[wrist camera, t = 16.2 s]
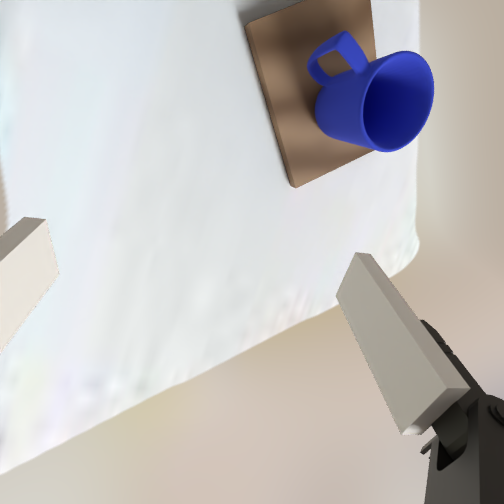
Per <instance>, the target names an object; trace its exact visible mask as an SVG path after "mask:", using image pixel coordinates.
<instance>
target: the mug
mask: <svg viewBox="0 0 504 504" xmlns="http://www.w3.org/2000/svg"><path fill="white" fill-rule="evenodd" d="M333 50H337V51H338V52H339V53H340V54H341V56H342V57H343V58H344V59H345V60H346V61H347V63H348V64H349V65H350V67H351V68H352V69H350V70H347V71H345V72H342V73H339V74H337V75H335V76H334V77H330V76H329V75H327V74H326V73H325V72H324V71H323V70H322V68H321V67H320V65H319V64H318V60H317V59H318V58H319V57H321V56H323V55H324V54H327V53H329V52H331V51H333ZM307 69H308V72H309V74H310V75H311V77H312V78H313V79H314V80H315V81H316V82H317V83H318V84H320V85H322V86H323V87H322V88H321V90H320V92H319V94H318V96H317V99H316V103H315V118H316V121H317V124H318V126H319V128H320V129H321V130H322V132H323V133H324V134H326V135H327V136H329V137H331V138H333V139H337V140H340V141H344V142H348V143H351V144H355V145H359V146H362V147H366V148H370V149H373V150H377V151H381V152H392V151H396V150H399V149H401V148H403V147H404V146H406V145H407V144H409V143H410V142H411V141H412V140H413V139H414V138H415V137H416V136H417V135H418V134H419V132H420V131H421V129H422V128H423V126H424V125H425V123H426V121H427V118H428V116H429V114H430V110H431V107H432V103H433V97H434V81H433V76H432V72H431V69H430V67H429V65H428V64H427V62H426V61H425V60H424V59H423V58H422V57H421V56H420V55H418V54H417V53H414V52H411V51H399V52H396V53H393V54H390V55H387V56H385V57H382V58H379V59H377V60H374V61H371V62H368V60H367V57H366V55H365V54H364V52H363V50H362V49H361V47H360V46H359V45H358V43H357V42H356V40H355V39H354V38H353V37H352V36H351V34H350V33H349V32H348V31H342V32H340V33H338V34H336V35H335V36H333V37H331V38H330V39H328V40H327V41H325V42H324V43H322V44H321V45H320V46H319V47H318V48H317V49H316V50H315V51H314V52H313V53H312V55H311V56H310V58H309V60H308V62H307Z"/></svg>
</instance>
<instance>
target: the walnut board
mask: <svg viewBox="0 0 504 504" xmlns="http://www.w3.org/2000/svg"><path fill="white" fill-rule="evenodd" d="M245 31H246V34H247V38H248V41H249V44H250V48H251V51H252V55H253V58H254V62H255V65H256V68H257V72H258V75H259V79H260V82H261V85H262V89H263V92H264V96H265V99H266V102H267V106H268V109H269V113H270V116H271V120H272V123H273V126H274V130H275V133H276V137H277V140H278V143H279V147H280V150H281V154H282V157H283V160H284V164H285V167H286V171H287V174H288V178H289V181H290V184H291V186H292V187H294V188H298V187H300V186H302V185H304V184H306V183H308V182H310V181H312V180H314V179H316V178H318V177H320V176H322V175H324V174H326V173H328V172H331V171H333V170H335V169H337V168H339V167H341V166H343V165H345V164H347V163H349V162H351V161H353V160H355V159H357V158H359V157H361V156H363V155H365V154H368V153H370V152H372V151H374V150H373V149H370V148H366V147H362V146H359V145H355V144H351V143H348V142H344V141H340V140H337V139H333V138H331V137H329V136H327V135H326V134H324V133H323V132H322V130H321V129H320V128H319V126H318V124H317V121H316V118H315V103H316V99H317V96H318V94H319V92H320V90H321V88H322V87H323V86H322V85H320V84H318V83H317V82H316V81H315V80H314V79H313V78H312V77H311V75H310V74H309V72H308V69H307V62H308V60H309V58H310V56H311V55H312V53H313V52H314V51H315V50H316V49H317V48H318V47H319V46H320V45H321V44H322V43H324V42H325V41H327V40H328V39H330V38H331V37H333V36H335V35H336V34H338V33H340V32H342V31H348V32H349V33H350V34H351V36H352V37H353V38H354V39H355V40H356V42H357V43H358V45H359V46H360V47H361V49H362V50H363V52H364V54H365V55H366V57H367V60H368V62H371V61H374V60H376V50H375V40H374V30H373V20H372V11H371V1H370V0H305V1H302V2H300V3H297V4H295V5H292V6H290V7H287V8H285V9H282V10H280V11H277V12H275V13H272V14H270V15H267V16H265V17H262V18H260V19H257V20H255V21H252V22H250V23H248V24H247V25H246V26H245ZM317 60H318V64H319V65H320V67H321V68H322V70H323V71H324V72H325V73H326V74H327V75H329V76H330V77H334V76H335V75H337V74H339V73H342V72H345V71H347V70H350V69H352V68H351V67H350V65H349V64H348V63H347V61H346V60H345V59H344V58H343V57H342V56H341V54H340V53H339V52H338V51H337V50H333V51H331V52H329V53H327V54H324V55H323V56H321V57H319V58H318V59H317Z"/></svg>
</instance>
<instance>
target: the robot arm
mask: <svg viewBox="0 0 504 504" xmlns="http://www.w3.org/2000/svg"><path fill="white" fill-rule="evenodd" d="M59 274H60V273H59V269H58V265H57V261H56V257H55V253H54V249H53V245H52V241H51V237H50V233H49V229H48V225H47V221H46V219H39V218H29V217H24V218H22V219H21V220H20V221H19V222H17V223H16V224H15V225H14V226H13V227H11V228H10V229H9V230H8V231H6V232H5V233H4V234H3V235H1V236H0V354H1V352H2V351H3V350H4V348H5V347H6V346H7V344H8V343H9V342H10V340H11V339H12V338H13V336H14V335H15V333H16V332H17V331H18V329H19V328H20V327H21V325H22V324H23V323H24V321H25V320H26V319H27V317H28V316H29V315H30V313H31V312H32V311H33V309H34V308H35V307H36V305H37V304H38V303H39V301H40V300H41V299H42V297H43V296H44V295H45V293H46V292H47V291H48V289H49V288H50V287H51V285H52V284H53V283H54V281H55V280H56V278H57V277H58V276H59ZM336 298H337V300H338V302H339V304H340V306H341V308H342V310H343V312H344V315H345V317H346V319H347V321H348V323H349V325H350V327H351V329H352V331H353V333H354V336H355V338H356V340H357V342H358V344H359V346H360V349H361V351H362V353H363V355H364V357H365V359H366V361H367V363H368V366H369V368H370V370H371V372H372V374H373V376H374V378H375V380H376V382H377V384H378V387H379V389H380V391H381V393H382V395H383V397H384V399H385V401H386V403H387V406H388V408H389V410H390V412H391V414H392V416H393V419H394V421H395V423H396V425H397V427H398V429H399V431H400V433H401V435H414V434H415V435H419V434H420V435H421V434H422V433H424V432H425V431H426V430H427V429H428V428H429V427H430V426H431V425H432V427H433V429H434V431H435V432H436V434H437V435H436V436H435V437H434V438H433V439H431V440H430V441H429V442H428V443H427V444H426V445H425V446H423V448H422V449H421V452H420V453H422V454H425V453H426V452H427V451H428V450H430V449H431V454H430V457H429V459H430V462H429V470H428V479H427V487H426V494H425V503H424V504H504V400H502V399H500V398H497V397H495V396H493V395H487V394H486V393H485V392H484V391H483V390H482V389H481V387H480V386H479V385H478V383H477V382H476V381H475V379H474V378H473V377H472V376H471V374H470V373H469V372H468V370H467V369H466V368H465V367H464V365H463V364H462V363H461V362H460V360H459V359H458V358H457V356H456V355H454V354H453V351H452V350H451V349H450V347H449V346H448V345H446V344H445V343H446V342H445V341H444V340H443V338H442V337H441V336H440V335H439V333H438V332H437V331H436V330H435V329H434V328H433V327H432V326H430V325H429V324H428V323H427V322H425V321H424V320H419V319H418V317H417V316H416V315H415V313H414V312H413V311H412V309H411V308H410V307H409V305H408V304H407V302H406V301H405V300H404V298H403V297H402V296H401V294H400V293H399V292H398V290H397V289H396V288H395V286H394V285H393V284H392V282H391V281H390V280H389V278H388V277H387V276H386V274H385V273H384V272H383V270H382V269H381V268H380V266H379V265H378V264H377V262H376V261H375V260H374V258H373V257H372V256H371V254H366V253H357V252H355V254H354V257H353V259H352V261H351V263H350V265H349V268H348V270H347V272H346V274H345V276H344V278H343V281H342V283H341V285H340V287H339V289H338V292H337V294H336Z"/></svg>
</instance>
